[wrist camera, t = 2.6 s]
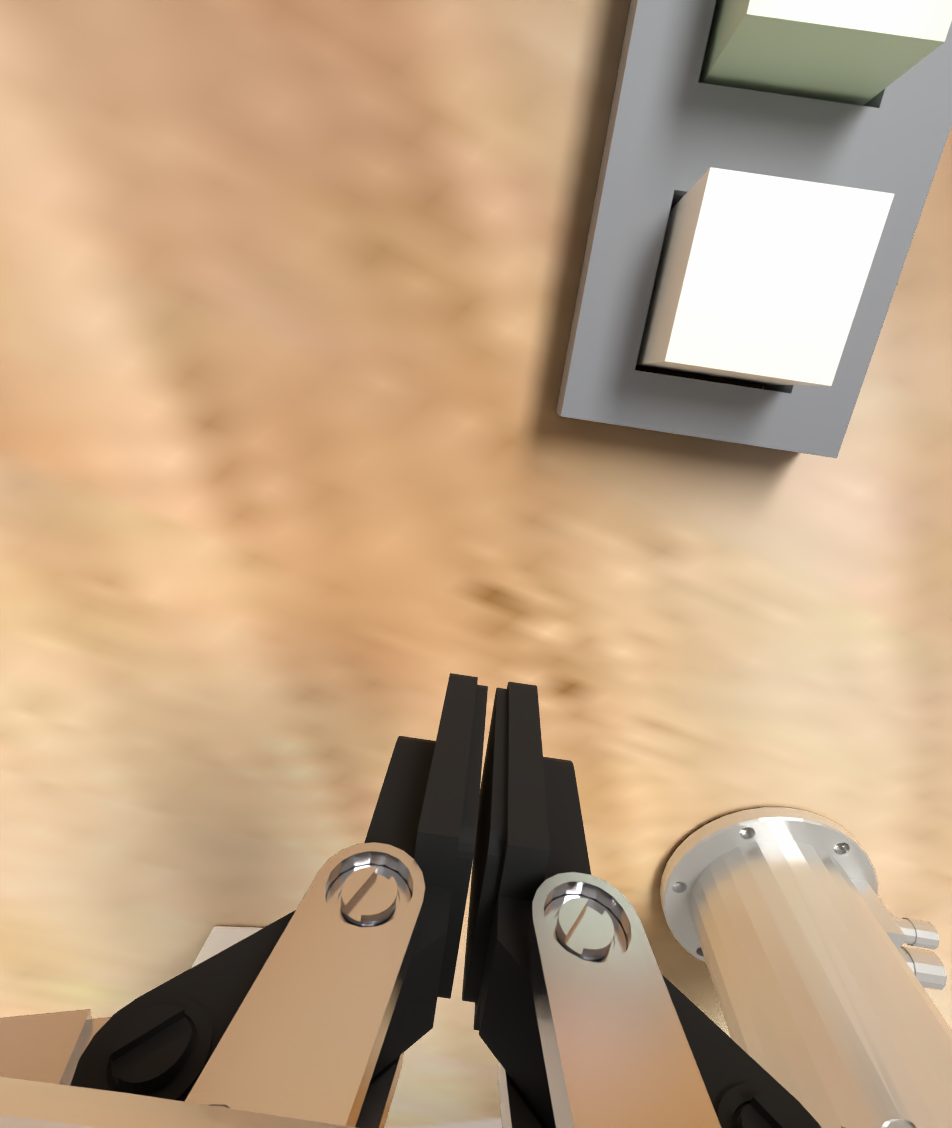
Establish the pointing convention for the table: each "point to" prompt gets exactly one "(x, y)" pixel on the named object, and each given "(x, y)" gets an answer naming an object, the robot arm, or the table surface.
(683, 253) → the cream key
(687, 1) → the key console
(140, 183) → the table surface
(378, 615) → the table surface
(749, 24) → the sage key
